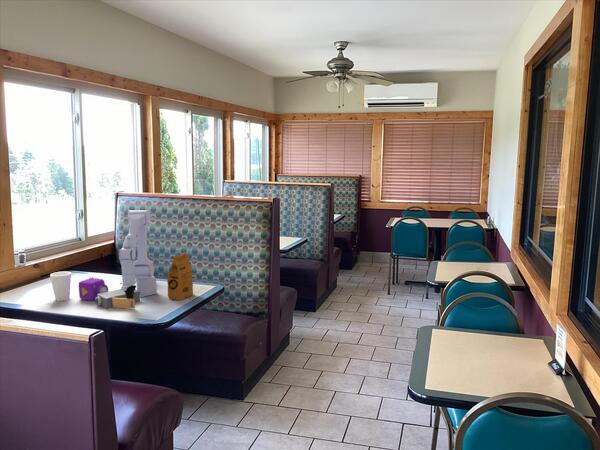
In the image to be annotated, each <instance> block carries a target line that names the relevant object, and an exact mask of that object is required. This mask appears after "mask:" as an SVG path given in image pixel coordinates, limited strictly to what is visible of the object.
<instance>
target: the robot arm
mask: <svg viewBox="0 0 600 450" xmlns="http://www.w3.org/2000/svg"><path fill="white" fill-rule="evenodd" d="M127 222H128V224H129V228H128V229H129V230H128V234H127V235H126V236H125V237H124V241H123V244H122V248H121V249H119V250H118V258H119V259H118V260H119V264H120V265H121V277H122V281H120V282H119V285H121V288H120V289H122V291H124V292H125V294H126V297H127V298H128V299H133V295H134V291H135V289H136V290H138V291H140V298H143V297H147V296H151V295H157V294H158V291H157V285H158V284H157V278H156V277H155V276H154V274H155V268H154V261H152V260H150V259H149V258H148V227H150V226H151V212H150V211H149V209H147V210H145V209H143V210H137V209H135V210H133V209H130V210H128V212H127ZM136 248H137V249H136ZM136 253H137V255H136ZM136 256H137V259H136ZM138 264H147V265H138ZM135 284H136V285H135Z"/></svg>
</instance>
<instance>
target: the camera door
mask: <svg viewBox="0 0 600 450" xmlns="http://www.w3.org/2000/svg"><path fill="white" fill-rule="evenodd" d="M135 303H136V302H135V299H128V298H112V308H119V309H133V310H134V309H136V304H135Z"/></svg>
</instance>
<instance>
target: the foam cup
mask: <svg viewBox="0 0 600 450" xmlns="http://www.w3.org/2000/svg"><path fill="white" fill-rule="evenodd" d="M49 278H50V282H51V286H52V289H53V290H52V291H53V295H54V298H55V301H57V302H63V300H64V301H68V300H69V299H70V296H71V294H70V293H71V282H72V281H71V279H72V272H71V271H57V272H53V273H50V275H49Z"/></svg>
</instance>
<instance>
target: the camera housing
mask: <svg viewBox="0 0 600 450" xmlns="http://www.w3.org/2000/svg"><path fill="white" fill-rule="evenodd" d="M112 298H127V297H126V294H125V292H124V291H122V289H121V288H120V289H115V290H111V291H108V292H105V293H100V294H97V297H96V298H95V300H94V301H95V305H96V306H100V307H102V308H103V309H105V310H106V309H107V310H108V309H111V308H113V307H112ZM133 299H135V303H136V302H137V303H138V302H140V301H141V297H140V291H138V290H137V288H135V291H134V295H133Z"/></svg>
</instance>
